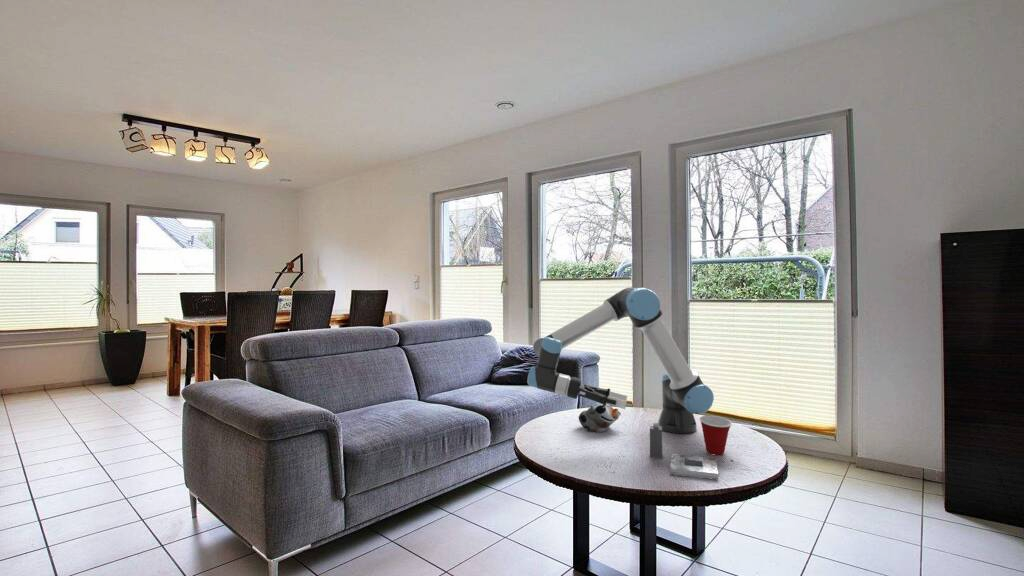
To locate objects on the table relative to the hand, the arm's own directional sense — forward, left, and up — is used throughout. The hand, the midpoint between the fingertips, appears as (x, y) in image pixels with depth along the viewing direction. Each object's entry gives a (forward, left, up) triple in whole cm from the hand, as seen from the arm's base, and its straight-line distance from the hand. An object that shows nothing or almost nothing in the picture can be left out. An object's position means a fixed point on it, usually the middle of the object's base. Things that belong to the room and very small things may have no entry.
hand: (626, 402), depth 182 cm
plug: (-9, +6, -18) cm, 21 cm away
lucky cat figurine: (-1, -28, -18) cm, 34 cm away
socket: (-15, +20, -18) cm, 31 cm away
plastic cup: (-31, +8, -18) cm, 36 cm away
